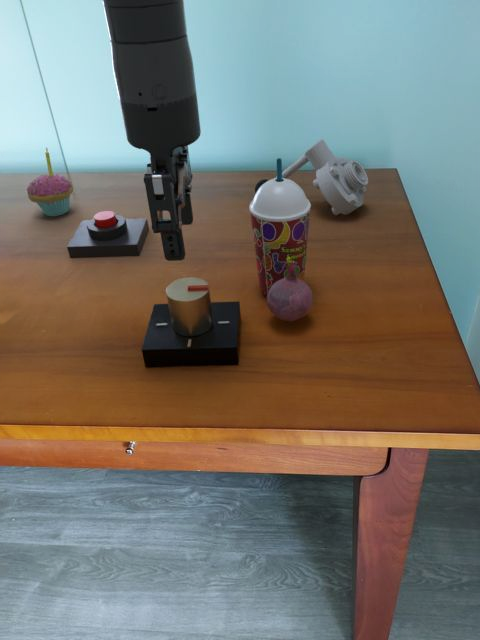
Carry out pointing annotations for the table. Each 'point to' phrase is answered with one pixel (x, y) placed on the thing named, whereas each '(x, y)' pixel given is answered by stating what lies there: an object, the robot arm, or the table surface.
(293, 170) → the valve
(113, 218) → the button
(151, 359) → the dial panel
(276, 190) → the smoothie
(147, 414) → the table surface
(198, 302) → the pointer knob
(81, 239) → the box
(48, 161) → the cupcake
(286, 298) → the vegetable
